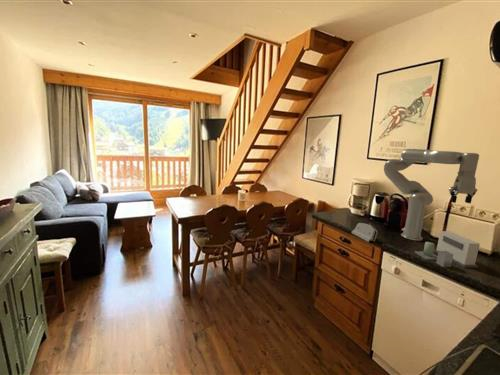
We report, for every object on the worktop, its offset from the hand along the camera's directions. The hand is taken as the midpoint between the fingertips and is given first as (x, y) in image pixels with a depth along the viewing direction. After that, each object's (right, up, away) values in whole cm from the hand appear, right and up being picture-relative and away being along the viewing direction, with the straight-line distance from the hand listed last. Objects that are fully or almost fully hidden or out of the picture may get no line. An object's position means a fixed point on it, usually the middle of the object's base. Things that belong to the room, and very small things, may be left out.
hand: (460, 202), depth 147 cm
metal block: (-22, -32, -15) cm, 42 cm away
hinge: (-48, -25, +20) cm, 58 cm away
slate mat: (-23, -31, -5) cm, 39 cm away
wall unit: (-10, -32, -7) cm, 34 cm away
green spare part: (-23, -30, -6) cm, 38 cm away
